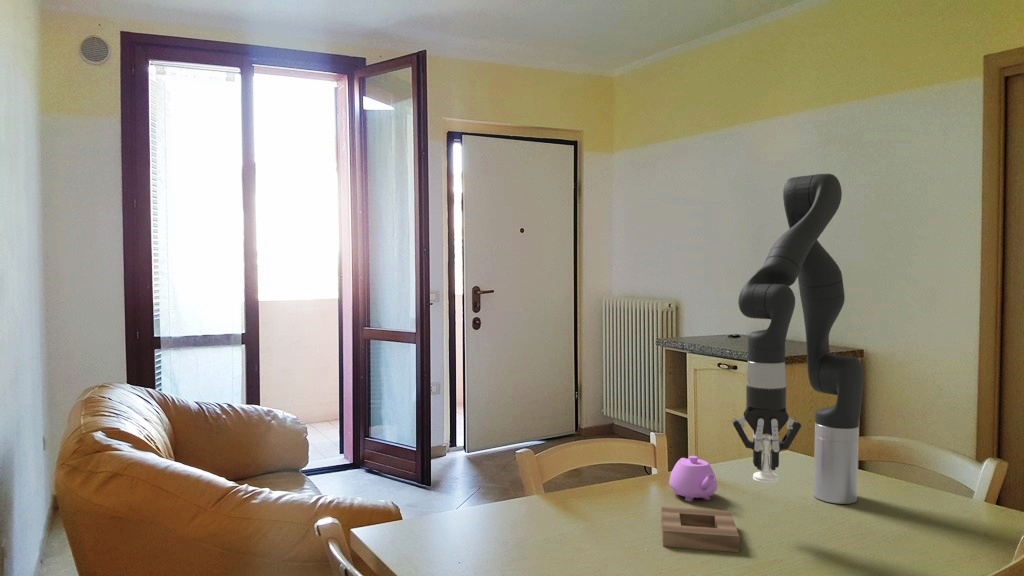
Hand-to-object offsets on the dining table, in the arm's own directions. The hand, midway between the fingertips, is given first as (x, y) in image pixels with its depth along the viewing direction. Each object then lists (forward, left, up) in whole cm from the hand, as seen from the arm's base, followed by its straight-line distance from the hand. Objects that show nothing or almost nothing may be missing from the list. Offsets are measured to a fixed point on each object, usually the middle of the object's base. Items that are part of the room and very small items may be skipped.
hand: (765, 468), depth 145 cm
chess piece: (0, 0, -2) cm, 2 cm away
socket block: (+4, -13, -13) cm, 19 cm away
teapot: (-20, -12, -13) cm, 27 cm away
